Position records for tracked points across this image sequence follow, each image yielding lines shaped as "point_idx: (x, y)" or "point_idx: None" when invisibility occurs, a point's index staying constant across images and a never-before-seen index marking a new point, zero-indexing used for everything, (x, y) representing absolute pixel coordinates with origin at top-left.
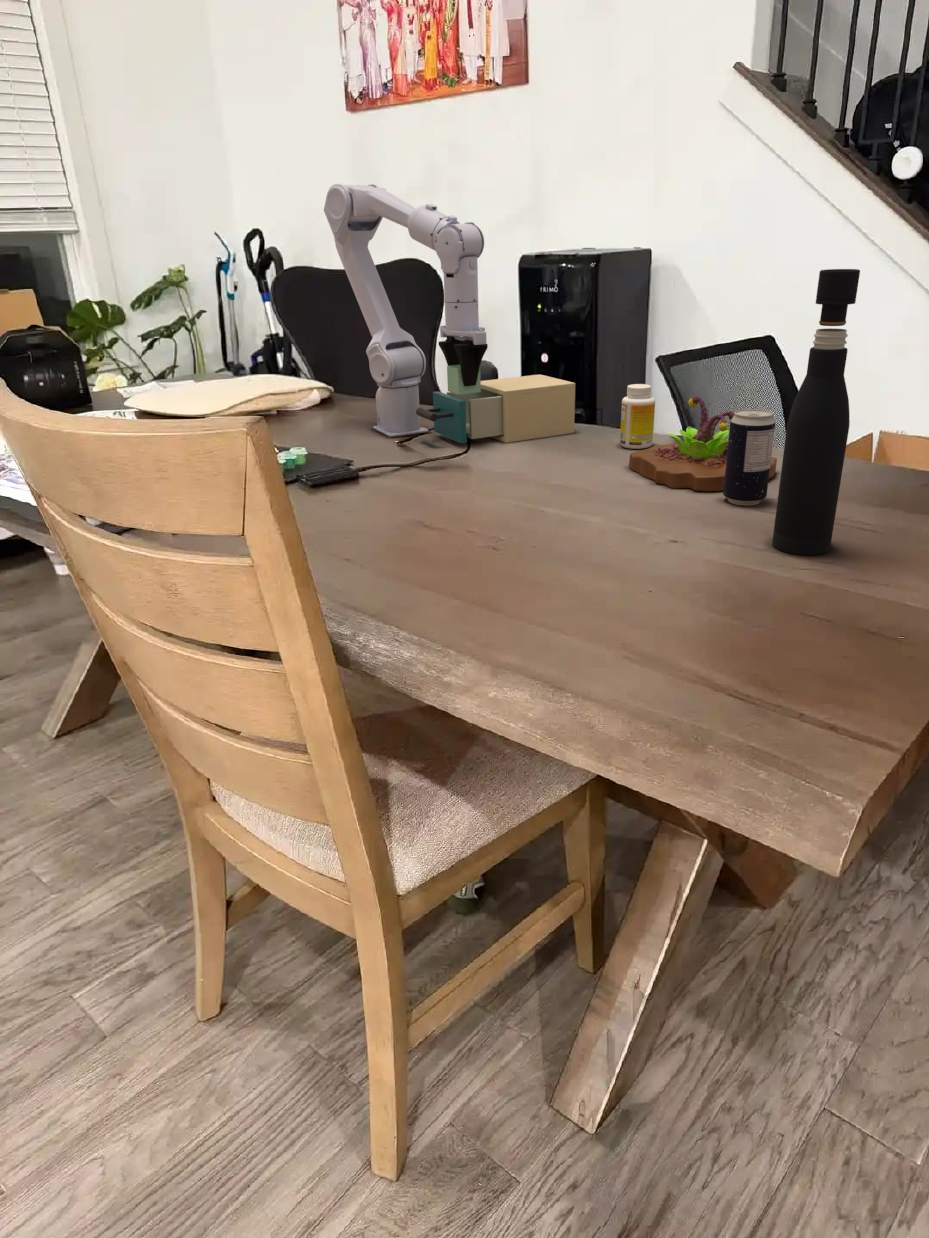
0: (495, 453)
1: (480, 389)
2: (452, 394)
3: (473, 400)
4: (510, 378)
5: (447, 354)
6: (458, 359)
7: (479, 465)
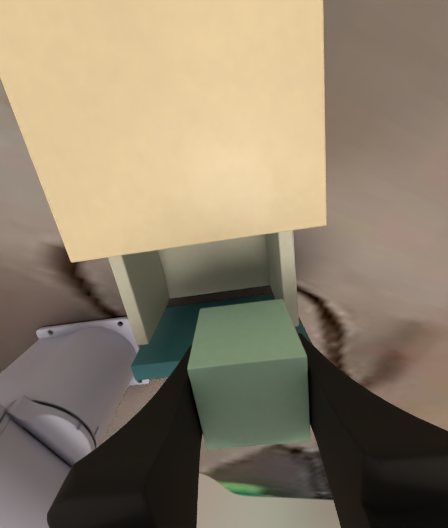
0: (355, 252)
1: (283, 303)
2: (147, 330)
3: (297, 317)
4: (22, 81)
5: (195, 501)
6: (189, 431)
7: (417, 305)
